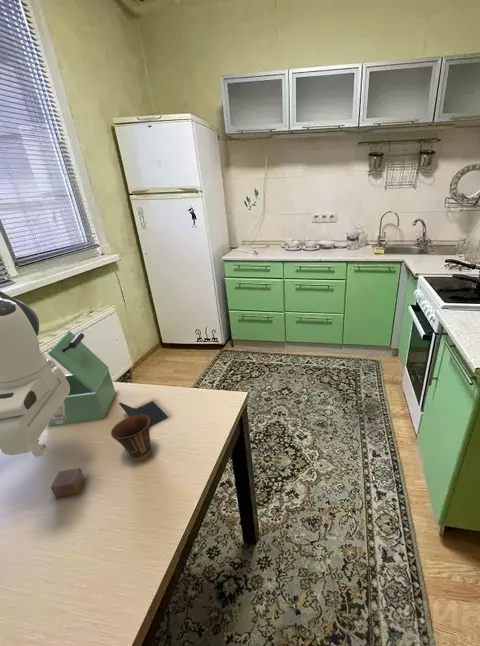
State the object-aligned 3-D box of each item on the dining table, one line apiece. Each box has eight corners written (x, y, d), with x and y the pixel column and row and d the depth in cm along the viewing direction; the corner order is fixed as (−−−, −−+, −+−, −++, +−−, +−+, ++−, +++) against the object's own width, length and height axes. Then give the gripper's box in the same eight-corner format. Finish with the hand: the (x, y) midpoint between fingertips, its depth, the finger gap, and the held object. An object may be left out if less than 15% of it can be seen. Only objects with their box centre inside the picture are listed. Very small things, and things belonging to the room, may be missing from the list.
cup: (136, 438, 87) (126, 409, 83) (165, 444, 85) (157, 414, 81) (112, 464, 80) (100, 433, 75) (143, 471, 78) (133, 440, 73)
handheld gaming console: (174, 410, 95) (146, 398, 87) (161, 434, 92) (132, 423, 85) (153, 401, 102) (126, 389, 94) (140, 422, 99) (112, 412, 92)
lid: (47, 353, 82) (63, 343, 82) (67, 332, 93) (81, 323, 93) (93, 393, 90) (108, 383, 89) (106, 369, 101) (120, 360, 100)
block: (57, 501, 71) (50, 487, 69) (65, 484, 75) (59, 471, 73) (79, 497, 72) (72, 483, 70) (86, 480, 76) (80, 467, 74)
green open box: (50, 428, 92) (37, 401, 87) (67, 401, 103) (57, 375, 98) (105, 420, 94) (95, 393, 90) (116, 395, 105) (108, 369, 101)
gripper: (34, 357, 70) (56, 408, 77) (-28, 419, 52) (8, 479, 59) (65, 353, 71) (85, 403, 78) (15, 413, 53) (46, 472, 60)
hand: (52, 436), depth 68 cm, fingers open, 8 cm apart
